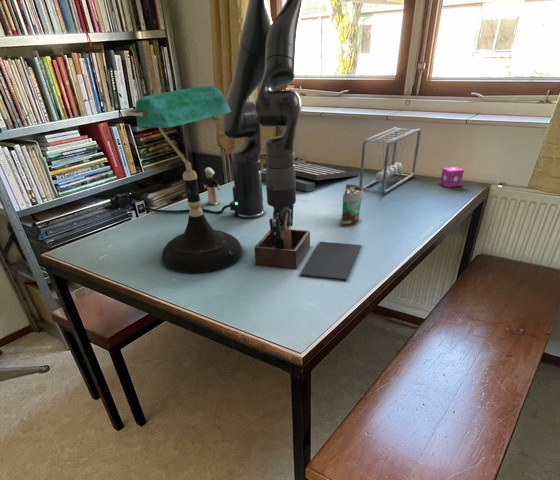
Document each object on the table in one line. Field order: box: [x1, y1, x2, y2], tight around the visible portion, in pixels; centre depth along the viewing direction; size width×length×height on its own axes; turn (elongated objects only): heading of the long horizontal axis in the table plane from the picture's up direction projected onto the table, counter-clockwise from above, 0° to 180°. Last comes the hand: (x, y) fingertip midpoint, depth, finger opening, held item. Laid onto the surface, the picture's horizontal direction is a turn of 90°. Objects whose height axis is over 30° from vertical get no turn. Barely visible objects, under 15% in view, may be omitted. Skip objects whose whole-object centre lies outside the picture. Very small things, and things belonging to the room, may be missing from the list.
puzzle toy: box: [439, 166, 465, 188], centre depth 163 cm, size 6×6×6 cm
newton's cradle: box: [358, 126, 422, 195], centre depth 163 cm, size 30×10×18 cm, turn 144°
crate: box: [254, 228, 311, 270], centre depth 117 cm, size 12×15×5 cm
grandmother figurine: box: [203, 167, 221, 206], centre depth 154 cm, size 8×4×13 cm, turn 68°
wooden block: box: [274, 225, 292, 250], centre depth 117 cm, size 4×4×8 cm
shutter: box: [261, 159, 360, 192], centre depth 181 cm, size 32×7×31 cm
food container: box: [341, 183, 365, 227], centre depth 135 cm, size 12×6×10 cm, turn 168°
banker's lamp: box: [125, 85, 243, 274], centre depth 109 cm, size 26×23×40 cm
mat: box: [299, 241, 362, 282], centre depth 115 cm, size 12×22×1 cm, turn 162°
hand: (283, 247), depth 118 cm, fingers closed on wooden block, 5 cm apart
